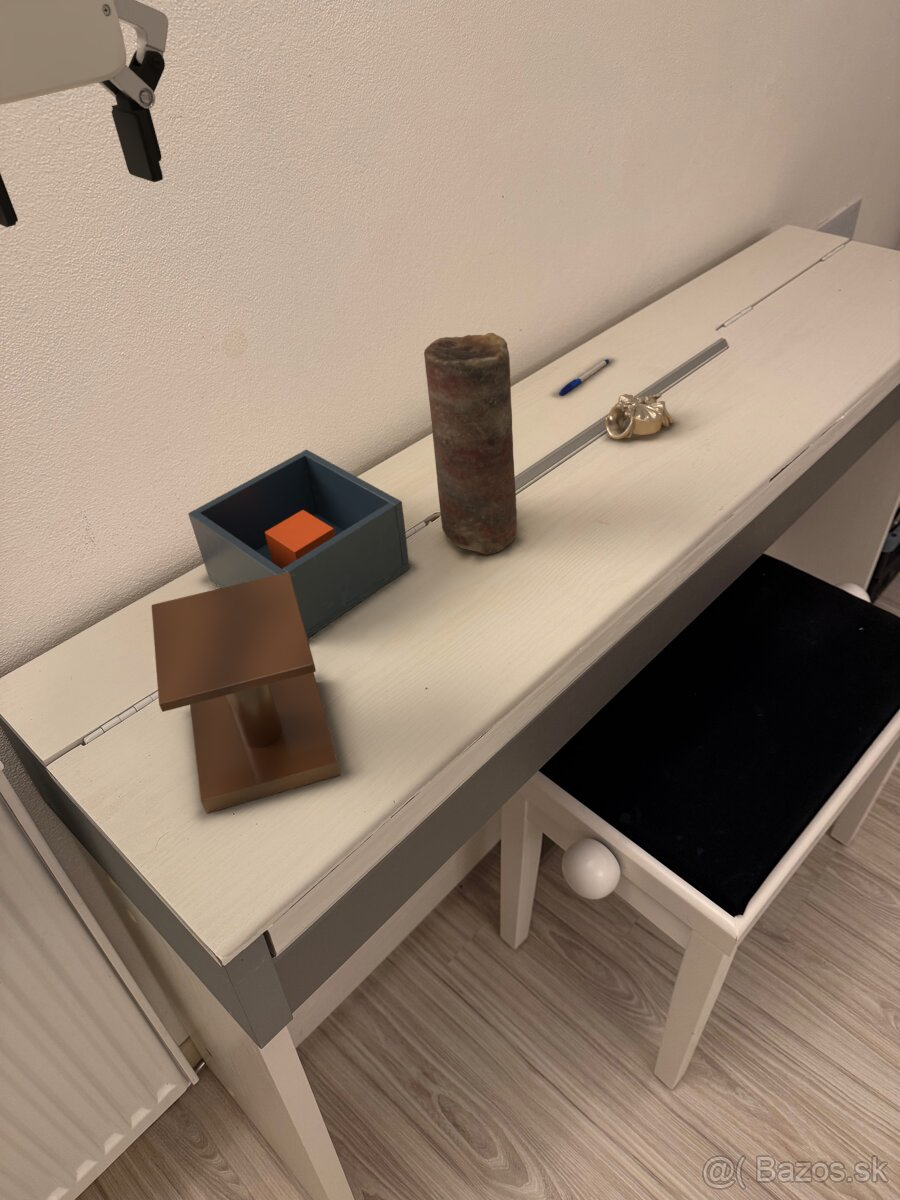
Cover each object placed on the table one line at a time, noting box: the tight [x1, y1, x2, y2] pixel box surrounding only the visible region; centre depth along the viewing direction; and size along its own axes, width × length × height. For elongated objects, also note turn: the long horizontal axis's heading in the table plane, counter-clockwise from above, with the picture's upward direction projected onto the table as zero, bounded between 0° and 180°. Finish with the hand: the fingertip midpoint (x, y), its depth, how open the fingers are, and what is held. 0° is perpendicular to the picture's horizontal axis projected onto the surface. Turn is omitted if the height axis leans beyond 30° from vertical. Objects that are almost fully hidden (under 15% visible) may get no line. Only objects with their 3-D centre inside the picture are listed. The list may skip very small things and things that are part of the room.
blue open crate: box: [187, 449, 411, 639], centre depth 79 cm, size 14×14×8 cm
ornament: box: [604, 392, 675, 440], centre depth 96 cm, size 8×7×4 cm
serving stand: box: [151, 572, 341, 814], centre depth 63 cm, size 10×10×12 cm
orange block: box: [265, 510, 335, 569], centre depth 80 cm, size 4×4×4 cm
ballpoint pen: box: [558, 358, 610, 397], centre depth 107 cm, size 10×1×1 cm, turn 141°
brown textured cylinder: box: [423, 332, 518, 555], centre depth 78 cm, size 8×7×20 cm
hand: (77, 198), depth 53 cm, fingers open, 9 cm apart
